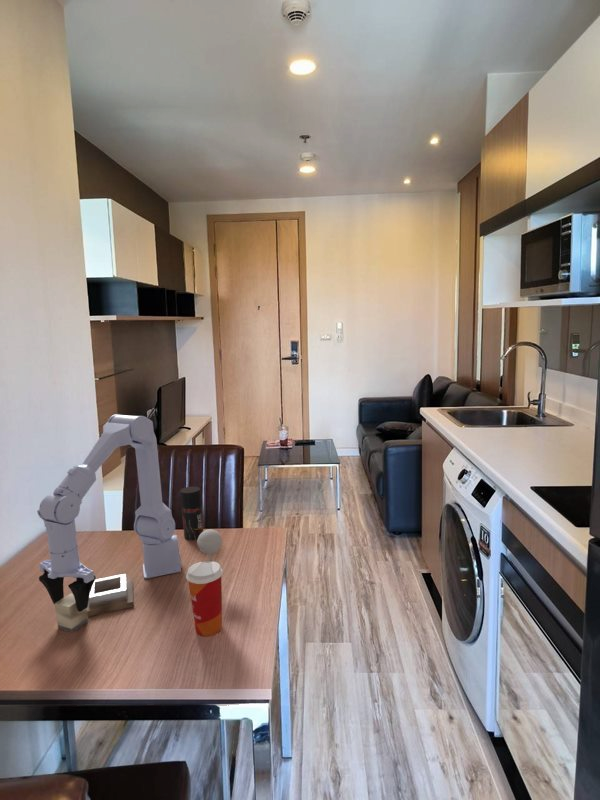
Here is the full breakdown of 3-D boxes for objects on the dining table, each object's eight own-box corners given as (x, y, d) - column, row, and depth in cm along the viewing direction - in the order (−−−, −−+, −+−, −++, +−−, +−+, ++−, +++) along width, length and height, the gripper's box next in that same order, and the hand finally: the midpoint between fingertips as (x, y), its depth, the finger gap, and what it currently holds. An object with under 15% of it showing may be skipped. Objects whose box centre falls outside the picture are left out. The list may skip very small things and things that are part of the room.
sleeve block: (74, 617, 116) (71, 593, 115) (88, 621, 114) (85, 596, 113) (58, 628, 112) (54, 603, 111) (72, 632, 110) (68, 607, 109)
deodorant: (199, 540, 154) (195, 493, 151) (181, 539, 155) (177, 492, 153) (206, 532, 160) (203, 486, 157) (189, 531, 161) (185, 486, 158)
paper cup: (195, 618, 113) (190, 560, 111) (229, 617, 113) (225, 559, 111) (186, 640, 106) (181, 578, 103) (223, 639, 105) (218, 577, 103)
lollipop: (213, 595, 122) (209, 537, 120) (195, 589, 126) (191, 532, 123) (230, 584, 128) (226, 527, 125) (212, 578, 131) (208, 523, 128)
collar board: (132, 582, 131) (130, 569, 130) (133, 606, 119) (132, 592, 119) (86, 591, 127) (84, 578, 126) (83, 617, 116) (81, 602, 115)
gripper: (24, 550, 110) (32, 608, 112) (72, 561, 104) (79, 622, 106) (52, 537, 116) (59, 592, 118) (98, 547, 110) (105, 605, 112)
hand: (70, 605), depth 112 cm, fingers open, 7 cm apart
